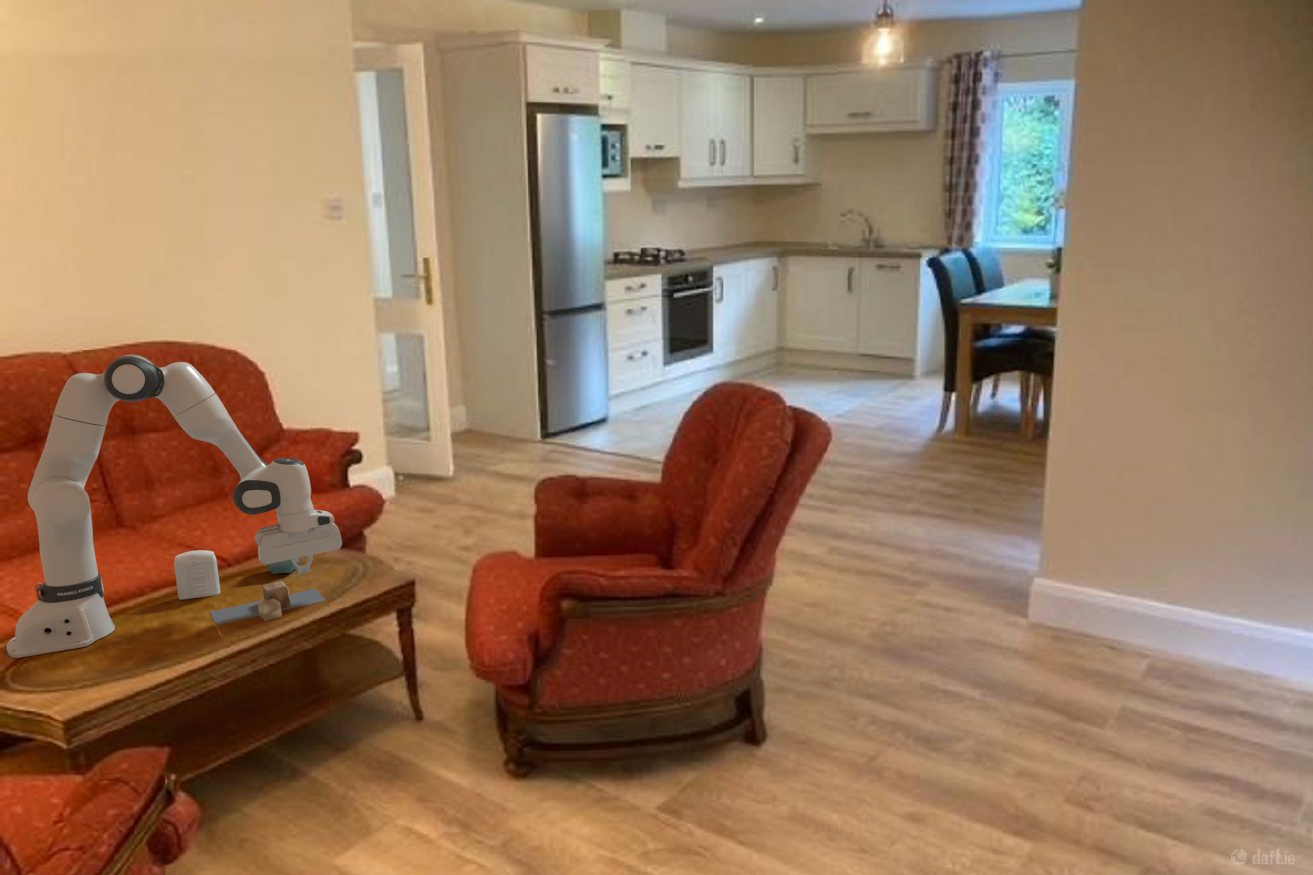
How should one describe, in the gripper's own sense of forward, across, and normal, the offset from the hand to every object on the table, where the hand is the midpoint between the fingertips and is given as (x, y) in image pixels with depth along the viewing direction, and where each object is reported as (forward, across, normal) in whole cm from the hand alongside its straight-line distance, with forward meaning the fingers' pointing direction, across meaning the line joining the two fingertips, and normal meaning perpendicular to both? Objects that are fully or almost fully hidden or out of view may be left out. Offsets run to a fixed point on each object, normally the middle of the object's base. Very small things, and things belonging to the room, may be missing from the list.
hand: (303, 572), depth 262 cm
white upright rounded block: (+7, -23, +21) cm, 32 cm away
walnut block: (+4, -5, 0) cm, 7 cm away
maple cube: (+7, -11, -8) cm, 15 cm away
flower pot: (+7, 0, +27) cm, 28 cm away
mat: (+7, -10, 0) cm, 12 cm away
